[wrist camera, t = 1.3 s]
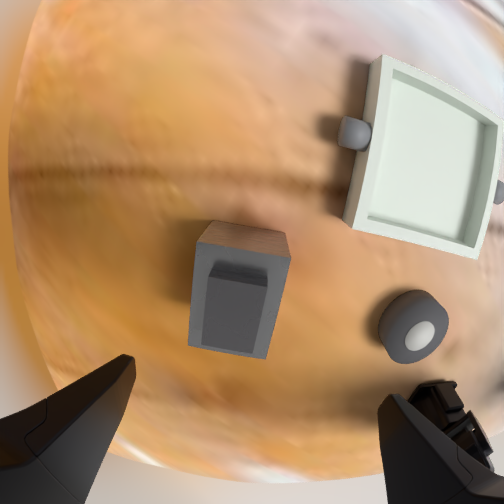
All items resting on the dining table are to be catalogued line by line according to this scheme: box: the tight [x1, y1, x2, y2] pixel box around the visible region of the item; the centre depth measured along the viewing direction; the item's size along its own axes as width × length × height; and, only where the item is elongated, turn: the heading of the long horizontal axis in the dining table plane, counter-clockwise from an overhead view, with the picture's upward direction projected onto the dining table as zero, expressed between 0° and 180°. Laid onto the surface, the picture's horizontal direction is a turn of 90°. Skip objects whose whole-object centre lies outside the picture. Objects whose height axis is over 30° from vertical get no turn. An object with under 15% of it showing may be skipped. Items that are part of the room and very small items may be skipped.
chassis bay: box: [338, 54, 504, 260], centre depth 16 cm, size 12×15×2 cm
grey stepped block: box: [188, 220, 291, 359], centre depth 18 cm, size 7×5×6 cm
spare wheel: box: [378, 290, 449, 364], centre depth 20 cm, size 6×6×3 cm
